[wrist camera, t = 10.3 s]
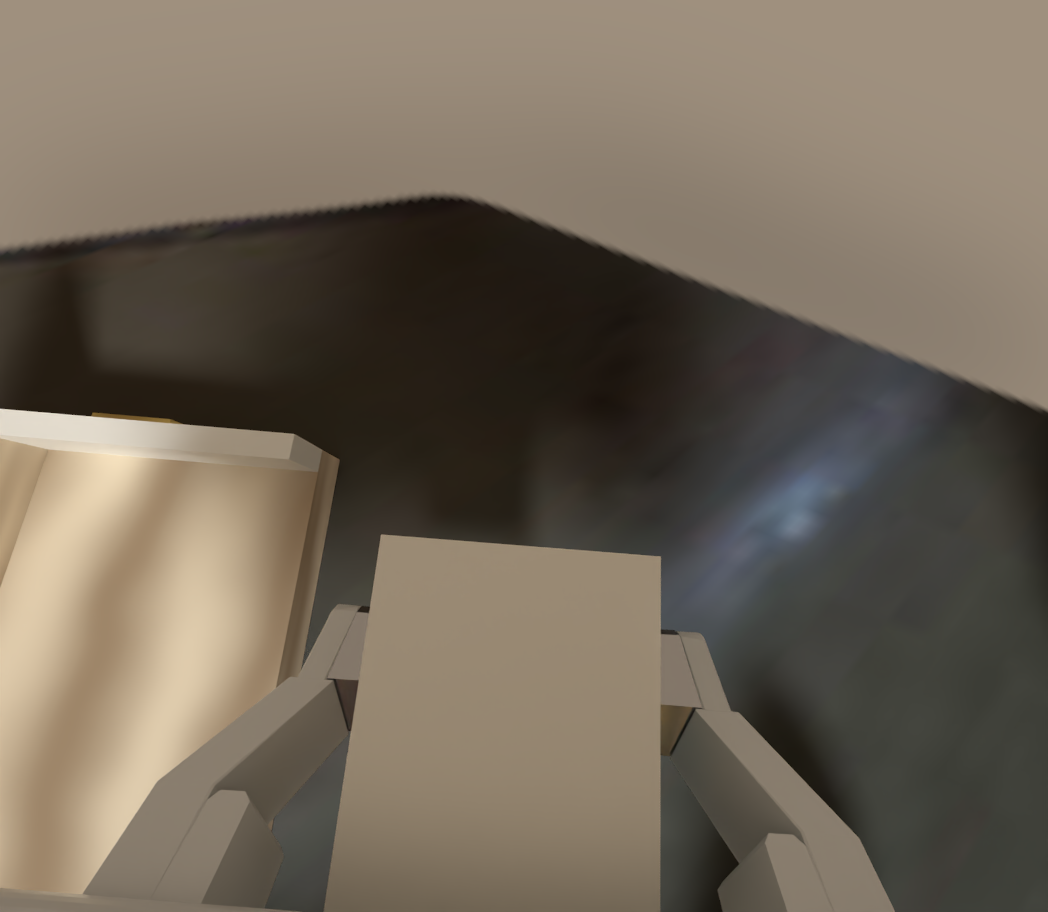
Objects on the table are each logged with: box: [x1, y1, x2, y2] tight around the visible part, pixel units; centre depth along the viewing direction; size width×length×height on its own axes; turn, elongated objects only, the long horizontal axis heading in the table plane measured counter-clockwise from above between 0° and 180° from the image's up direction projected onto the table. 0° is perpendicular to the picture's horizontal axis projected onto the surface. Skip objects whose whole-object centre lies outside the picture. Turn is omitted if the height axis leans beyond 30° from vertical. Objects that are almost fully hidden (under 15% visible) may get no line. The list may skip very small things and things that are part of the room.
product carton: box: [324, 535, 661, 912], centre depth 10 cm, size 5×5×8 cm
